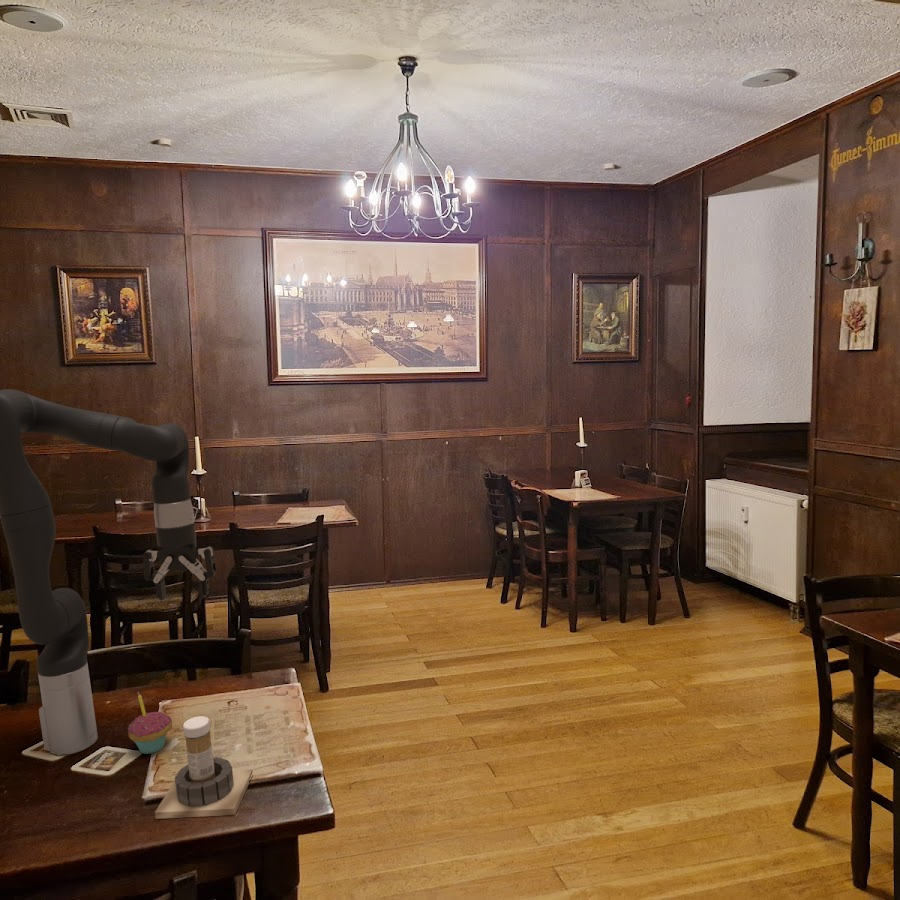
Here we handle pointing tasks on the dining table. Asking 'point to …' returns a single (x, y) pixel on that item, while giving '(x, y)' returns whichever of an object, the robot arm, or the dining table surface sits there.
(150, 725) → the cupcake
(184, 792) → the ring holder
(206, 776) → the sprinkles bottle
